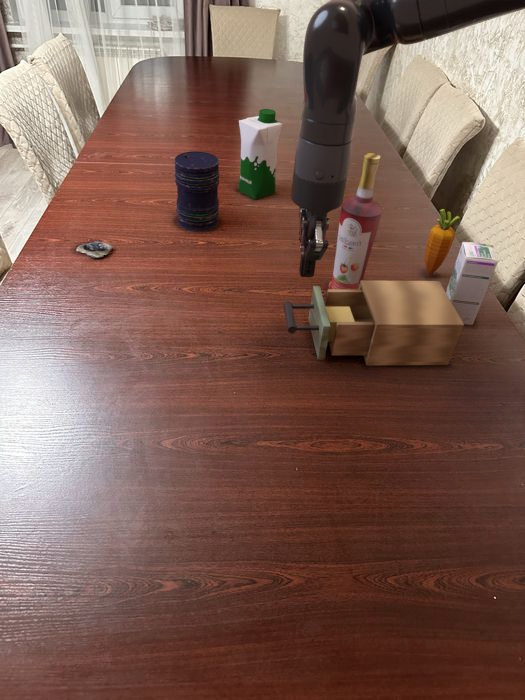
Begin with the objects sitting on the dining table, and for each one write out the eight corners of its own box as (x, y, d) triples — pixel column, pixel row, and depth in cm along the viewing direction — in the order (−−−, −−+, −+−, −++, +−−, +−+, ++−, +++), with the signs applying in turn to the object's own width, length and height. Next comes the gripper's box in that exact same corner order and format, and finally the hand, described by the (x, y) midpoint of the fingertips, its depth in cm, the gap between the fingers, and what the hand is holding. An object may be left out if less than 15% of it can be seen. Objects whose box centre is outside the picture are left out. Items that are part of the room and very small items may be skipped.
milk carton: (280, 193, 138) (287, 115, 125) (254, 202, 134) (258, 121, 120) (258, 182, 143) (262, 105, 130) (232, 190, 138) (234, 110, 125)
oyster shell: (104, 262, 109) (103, 254, 108) (68, 256, 110) (67, 248, 108) (117, 246, 114) (116, 238, 113) (83, 240, 115) (82, 232, 113)
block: (345, 325, 94) (349, 306, 91) (350, 341, 91) (355, 322, 88) (321, 325, 94) (325, 306, 91) (325, 341, 91) (329, 322, 88)
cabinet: (366, 365, 90) (377, 324, 84) (351, 320, 99) (360, 280, 93) (447, 365, 91) (464, 324, 85) (425, 320, 100) (439, 280, 94)
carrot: (445, 278, 112) (468, 214, 102) (428, 283, 110) (449, 219, 100) (429, 266, 115) (449, 203, 105) (412, 272, 113) (431, 208, 103)
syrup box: (473, 326, 100) (501, 260, 90) (442, 321, 100) (466, 256, 91) (469, 308, 104) (495, 244, 95) (439, 304, 105) (462, 240, 95)
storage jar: (226, 218, 126) (227, 157, 116) (206, 235, 119) (205, 172, 110) (190, 208, 129) (188, 147, 119) (169, 224, 122) (165, 162, 112)
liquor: (368, 291, 106) (401, 155, 88) (352, 308, 102) (383, 168, 83) (337, 279, 109) (362, 144, 91) (320, 294, 105) (342, 156, 86)
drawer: (286, 359, 88) (290, 326, 83) (279, 318, 97) (283, 285, 92) (394, 359, 90) (404, 326, 85) (378, 318, 98) (387, 286, 94)
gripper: (357, 191, 68) (336, 299, 79) (338, 152, 78) (322, 253, 89) (300, 189, 67) (287, 298, 79) (289, 150, 77) (279, 252, 88)
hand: (306, 274), depth 84 cm, fingers closed
